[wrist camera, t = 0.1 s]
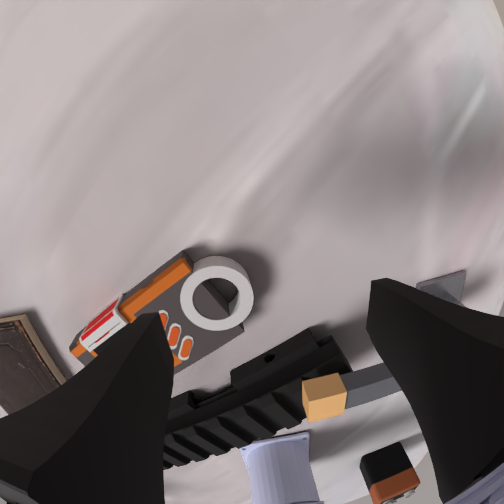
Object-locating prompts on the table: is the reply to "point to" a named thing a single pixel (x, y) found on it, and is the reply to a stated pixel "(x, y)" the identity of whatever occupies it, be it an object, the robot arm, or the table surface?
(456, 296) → the pivot post
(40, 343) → the hardcover book
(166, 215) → the table surface
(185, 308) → the electronic device
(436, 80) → the table surface
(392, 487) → the battery
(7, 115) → the table surface
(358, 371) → the bar
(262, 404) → the rail mount
